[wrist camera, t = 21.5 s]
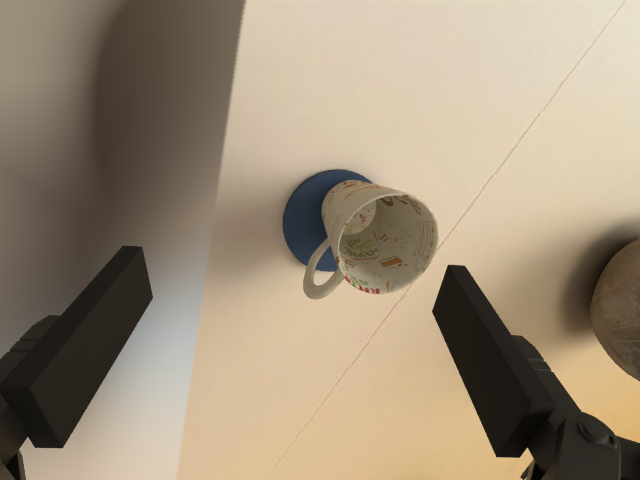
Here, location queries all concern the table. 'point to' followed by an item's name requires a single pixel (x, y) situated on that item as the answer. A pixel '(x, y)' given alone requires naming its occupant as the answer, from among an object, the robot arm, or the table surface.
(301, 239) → the coaster
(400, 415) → the table surface
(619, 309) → the bowl
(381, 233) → the mug
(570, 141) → the table surface
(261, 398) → the table surface
